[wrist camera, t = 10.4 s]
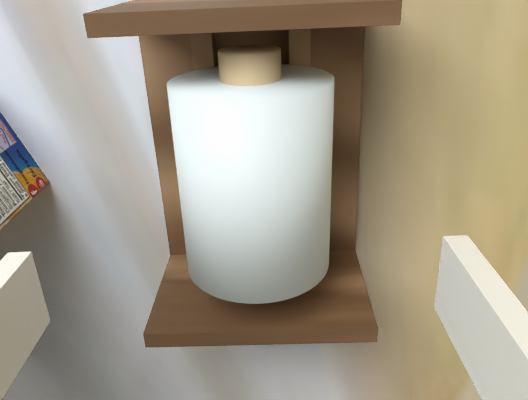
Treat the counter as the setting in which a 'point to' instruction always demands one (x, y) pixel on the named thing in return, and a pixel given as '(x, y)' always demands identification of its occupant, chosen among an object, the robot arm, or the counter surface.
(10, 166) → the beverage box
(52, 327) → the counter surface
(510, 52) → the counter surface
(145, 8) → the tray
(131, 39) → the counter surface
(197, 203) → the roll
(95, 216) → the counter surface
